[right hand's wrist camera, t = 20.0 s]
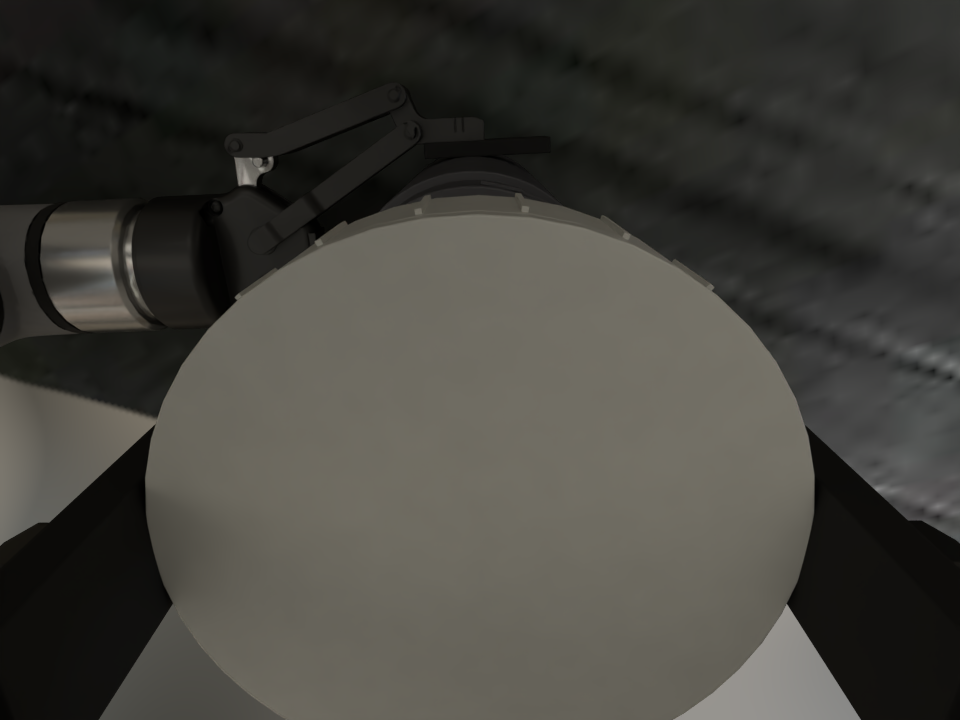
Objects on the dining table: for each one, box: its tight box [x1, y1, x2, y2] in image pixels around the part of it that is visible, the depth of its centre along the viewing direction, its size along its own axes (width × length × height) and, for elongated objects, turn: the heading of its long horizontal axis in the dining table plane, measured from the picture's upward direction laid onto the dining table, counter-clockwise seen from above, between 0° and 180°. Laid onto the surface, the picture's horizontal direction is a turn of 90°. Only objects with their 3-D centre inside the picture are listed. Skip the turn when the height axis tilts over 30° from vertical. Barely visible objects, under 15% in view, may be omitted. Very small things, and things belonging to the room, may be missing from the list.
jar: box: [378, 155, 563, 213], centre depth 31 cm, size 10×10×19 cm
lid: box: [145, 193, 814, 720], centre depth 11 cm, size 12×12×2 cm
